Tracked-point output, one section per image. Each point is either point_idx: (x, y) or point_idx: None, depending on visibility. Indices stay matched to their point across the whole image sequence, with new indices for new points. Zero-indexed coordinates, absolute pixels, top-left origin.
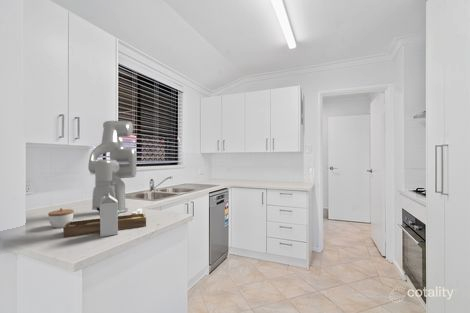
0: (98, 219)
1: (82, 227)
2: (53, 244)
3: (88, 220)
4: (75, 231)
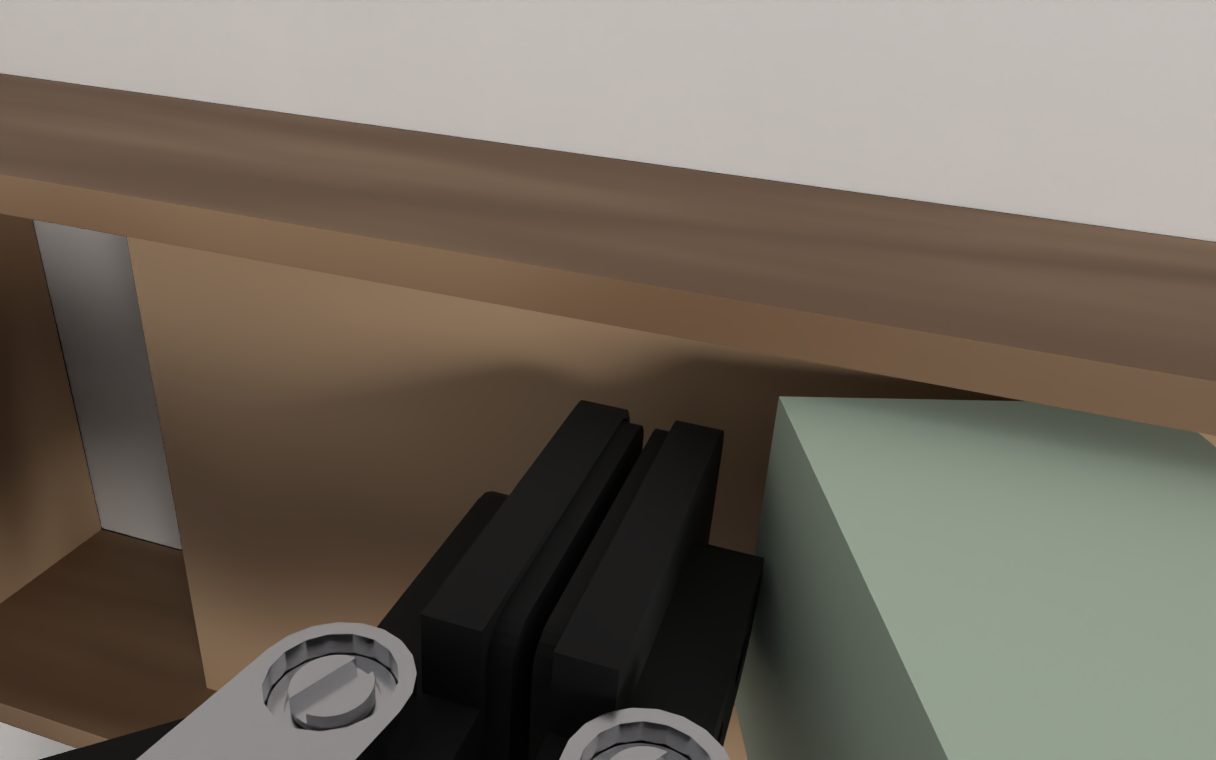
0: (412, 274)
1: (156, 715)
2: (10, 743)
3: (82, 214)
4: (91, 623)
